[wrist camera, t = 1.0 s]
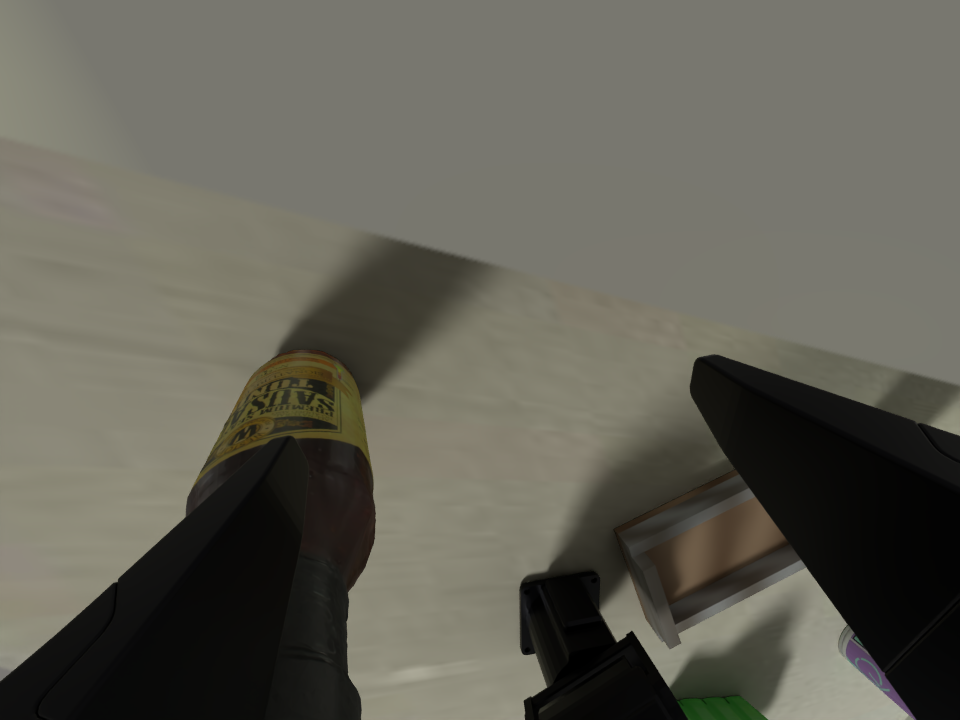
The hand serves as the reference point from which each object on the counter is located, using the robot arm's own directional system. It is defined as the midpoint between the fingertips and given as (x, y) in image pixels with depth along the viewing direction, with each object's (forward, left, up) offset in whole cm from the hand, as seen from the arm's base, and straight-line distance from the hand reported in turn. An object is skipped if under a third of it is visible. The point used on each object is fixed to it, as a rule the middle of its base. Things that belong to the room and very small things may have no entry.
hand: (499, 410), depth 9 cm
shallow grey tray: (-19, -22, -18) cm, 34 cm away
